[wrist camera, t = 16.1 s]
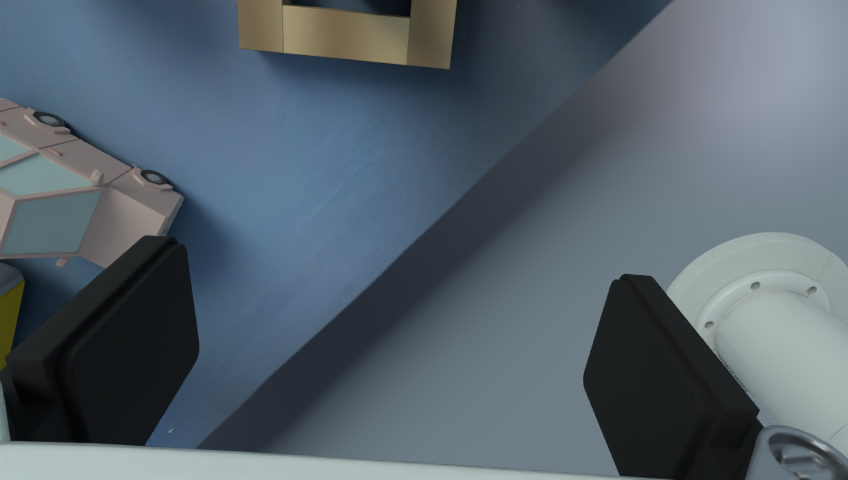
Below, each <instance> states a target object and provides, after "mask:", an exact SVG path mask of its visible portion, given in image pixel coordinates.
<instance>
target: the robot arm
mask: <svg viewBox="0 0 848 480" xmlns="http://www.w3.org/2000/svg"><path fill="white" fill-rule="evenodd" d="M198 354H199V338H198V331H197V323H196V316H195V309H194V301H193V294H192V286H191V279H190V271H189V264H188V256H187V250H186V248H185V246H184V245H182V244H179V243H178V241H177V239H176V238H174V237H165V236H153V235H145V236H143V237H142V238H140V239H139V240H138V241H137V242H136V243H135V244H134V245H132V246H131V247H130V248H129V249H128V250H127V251H126V252H124V253H123V254H122V255H121V256H120V257H119V258H118V259H116V260H115V261H114V262H113V263H112V264H111V265H109V266H108V267H107V268H106V269H105V270H104V271H103V272H101V273H100V274H99V275H98V276H97V277H96V278H95V279H93V280H92V281H91V282H90V283H89V284H88V285H87V286H85V287H84V288H83V289H82V290H81V291H80V292H79V293H77V294H76V295H75V296H74V297H73V298H72V299H71V300H69V301H68V302H67V303H66V304H65V305H64V306H63V307H61V308H60V309H59V310H58V311H57V312H56V313H55V314H53V315H52V316H51V317H50V318H49V319H48V320H47V321H45V322H44V323H43V324H42V325H41V326H40V327H39V328H37V329H36V330H35V331H34V332H33V333H32V334H31V335H29V336H28V337H27V338H26V339H25V340H24V341H23V342H21V343H20V344H19V345H18V346H17V347H16V348H14V349H13V350H12V351H11V352H10V353H9V354H8V355H6V356H5V357H4V358H5V361H6V364H7V365H6V366H5V367H4V368H3V369H2V370H0V480H848V328H847V327H845V326H844V325H843V324H842V323H840V322H839V321H838V320H837V319H835V318H834V317H833V316H831V306H830V300H829V298H828V296H827V293H826V292H825V291H824V289H823V288H822V287H821V286H820V285H819V284H818V283H816V282H815V281H814V280H812V279H811V278H809V277H808V276H806V275H804V274H802V273H799V272H795V271H792V270H783V269H773V270H764V271H759V272H755V273H751V274H749V275H746V276H744V277H741V278H739V279H737V280H735V281H733V282H731V283H730V284H728V285H726V286H725V287H724V288H722V289H721V290H720V291H718V292H717V293H716V294H715V295H714V296H713V297H712V298H711V299H710V300H709V301H708V302H707V303H706V305H705V306H704V308H703V309H702V310H701V312H700V314H699V316H698V318H697V320H696V323H695V327H694V328H693V327H692V325H691V324H690V323H689V322H688V320H687V319H686V318H685V317H684V315H683V314H682V313H681V312H680V310H679V309H678V308H677V307H676V305H675V304H674V303H673V302H672V301H671V299H670V298H669V297H668V296H667V294H666V293H665V292H664V291H663V290H662V288H661V287H660V286H659V284H658V283H657V282H656V281H655V279H654V278H653V277H651V276H644V275H633V274H623V275H622V276H621V277H620V279H619V280H616V279H615V280H614V281H613V282H612V284H611V286H610V289H609V292H608V296H607V300H606V302H605V305H604V309H603V312H602V315H601V319H600V322H599V325H598V328H597V332H596V335H595V338H594V341H593V345H592V348H591V351H590V355H589V358H588V361H587V364H586V368H585V371H584V376H583V383H584V388H585V391H586V393H587V396H588V399H589V401H590V404H591V406H592V408H593V411H594V413H595V416H596V418H597V421H598V423H599V426H600V428H601V431H602V433H603V436H604V438H605V440H606V443H607V445H608V448H609V450H610V453H611V455H612V458H613V460H614V463H615V465H616V467H617V470H618V472H619V475H620V476H610V475H595V474H581V473H566V472H551V471H536V470H522V469H509V468H508V469H507V468H494V467H478V466H464V465H449V464H433V463H417V462H401V461H385V460H370V459H353V458H338V457H321V456H305V455H288V454H269V453H253V452H235V451H218V450H201V449H184V448H166V447H149V446H145V444H146V442H147V441H148V439H149V437H150V436H151V434H152V432H153V431H154V429H155V428H156V426H157V424H158V423H159V421H160V419H161V418H162V416H163V415H164V413H165V411H166V410H167V408H168V406H169V405H170V403H171V402H172V400H173V398H174V397H175V395H176V393H177V392H178V390H179V388H180V387H181V385H182V384H183V382H184V380H185V379H186V377H187V375H188V374H189V372H190V371H191V369H192V367H193V366H194V364H195V362H196V360H197V358H198ZM734 377H736V378H738V379H739V380H740V381H741V382H742V383H743V385H744V386H745V387H746V388H747V390H748V391H749V392H750V393H751V394H752V396H753V397H754V398H755V399H756V401H757V402H758V403H759V404H760V405H761V407H762V408H763V409H764V410H765V412H766V413H767V414H768V415H769V416H770V418H771V419H772V420H773V421H774V423H775V424H776V425H771V426H768V427H765V428H764V427H763V426H762V424H761V423H760V422H759V420H758V419H757V418H756V417H757V415H758V413H759V411H760V410H759V408H758V407H757V406H756V405H755V403H754V402H753V401H752V400H751V399H750V397H749V396H748V395H747V394H746V392H745V391H744V390H743V389H742V387H741V386H740V385H739V384H738V382H737V381H736V380H735V379H734Z"/></svg>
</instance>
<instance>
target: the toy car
mask: <svg viewBox="0 0 848 480" xmlns="http://www.w3.org/2000/svg"><path fill="white" fill-rule="evenodd" d="M34 113H35V110H33V109H31V108H30V107H28V109H27V110H26V109H24V108H23V107H21V106H19V105H17V104H15V103H14V102H12V101H10V100H8V99H6V98H3V99H0V259H19V258H47V257H60V258H59V260H58V261H57V263H56V265H57V266H59V267H65V266H66V265H67V264H68V262H69V261H70V259H71V257H76V256H81V257H83V258H85V259H87V260H89V261H91V262H93V263H95V264H97V265H99V266H101V267H103V268H105V269H106V268H107V267H108V266H109V265H111V264H112V263H113V262H114V261H115V260H116V259H118V258H119V257H120V256H121V255H122V254H123V253H124V252H126V251H127V250H128V249H129V248H130V247H131V246H132V245H134V244H135V243H136V242H137V241H138V240H139V239H140V238H142V237H143V236H145V235H153V236H165V237H166V235H167V233H168V231H169V229H170V227H171V225H172V223H173V221H174V219H175V217H176V215H177V213H178V211H179V209H180V207H181V205H182V203H183V201H184V197H183V196H182V195H180V194H178V193H177V192H175V191H173V190H172V189H173V187H172V186H170V185H169V184H166V183H167V180H166V178H165V177H164V176H163V175H161V174H160V173H157V172H155V171H151V170H144V171H142V172H141V170H142V169H140V168H138V167H136V166H135V168H134V169H133V168H131V167H130V166H128V165H126V164H124V163H122V162H120V161H119V160H117V159H115V158H113V157H111V156H110V155H108V154H106V153H104V152H102V151H101V150H99V149H97V148H95V147H93V146H91V145H90V144H88V143H86V142H84V141H82V140H81V139H79V138H77V137H75V136H73V135H72V134H70V131H71V130H69V129H67V128H66V127H65V123H64V121H63V120H62V119H60V118H59V117H57V116H55V115H53V114H50V113H45V112H36V113H35V114H34Z"/></svg>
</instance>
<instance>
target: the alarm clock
mask: <svg viewBox="0 0 848 480" xmlns="http://www.w3.org/2000/svg"><path fill="white" fill-rule="evenodd" d="M24 285H25V280H24V277H23V275H22V273H21V272H20V270H19V269H18V268H16V267H13V266H10V265H8V264H5V263H3V262H0V370H2V369H3V368H4V367H5V366H6V365H7V364H6V361H5V358H4V357H5V356H6V355H8V354H9V353H10V352H11V347H12V342H13V338H14V333H15V328H16V323H17V318H18V313H19V309H20V304H21V299H22V294H23V289H24Z"/></svg>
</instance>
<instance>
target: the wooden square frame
mask: <svg viewBox="0 0 848 480" xmlns="http://www.w3.org/2000/svg"><path fill="white" fill-rule="evenodd" d="M456 6H457V0H412V1H411V15H410V16H402V15H392V14H383V13H373V12H363V11H353V10H343V9H334V8H324V7H314V6H304V5H295V4H293V0H237V11H238V26H239V41H240V49H247V50H258V51H268V52H278V53H288V54H298V55H308V56H319V57H329V58H339V59H349V60H359V61H370V62H380V63H390V64H400V65H410V66H421V67H431V68H441V69H450V60H451V51H452V42H453V33H454V24H455V15H456Z"/></svg>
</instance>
